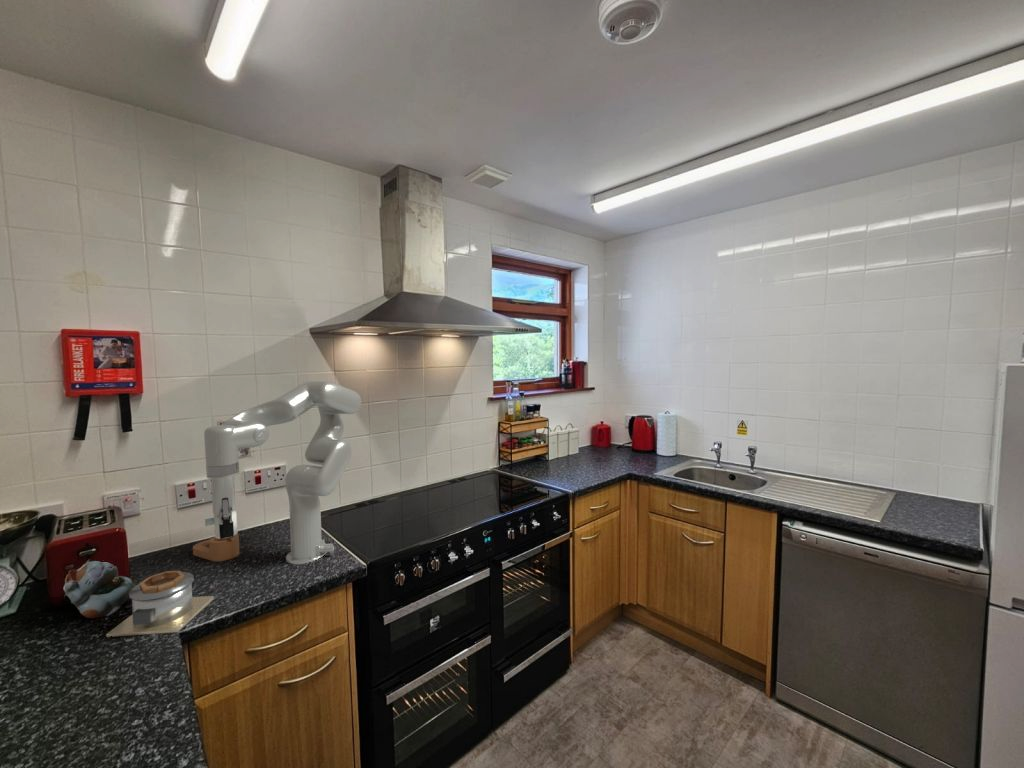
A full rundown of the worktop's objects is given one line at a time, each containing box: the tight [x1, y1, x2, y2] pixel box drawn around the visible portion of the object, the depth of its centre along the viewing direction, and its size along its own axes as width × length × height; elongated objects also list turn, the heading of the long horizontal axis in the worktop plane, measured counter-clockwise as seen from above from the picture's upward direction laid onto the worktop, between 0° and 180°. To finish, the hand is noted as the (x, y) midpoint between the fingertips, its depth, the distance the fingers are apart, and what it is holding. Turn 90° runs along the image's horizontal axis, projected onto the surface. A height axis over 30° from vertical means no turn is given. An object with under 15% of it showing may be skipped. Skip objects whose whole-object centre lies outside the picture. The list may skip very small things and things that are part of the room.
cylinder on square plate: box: [105, 570, 215, 638], centre depth 111 cm, size 16×15×10 cm
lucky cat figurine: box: [63, 558, 135, 619], centre depth 115 cm, size 15×12×14 cm
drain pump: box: [204, 509, 238, 539], centre depth 118 cm, size 7×5×7 cm
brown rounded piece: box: [192, 532, 240, 562], centre depth 148 cm, size 18×8×7 cm, turn 65°
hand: (226, 532), depth 119 cm, fingers closed on drain pump, 5 cm apart
